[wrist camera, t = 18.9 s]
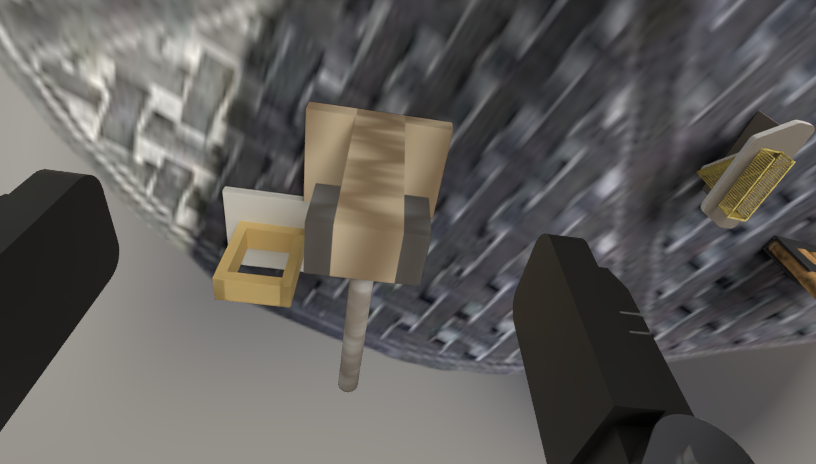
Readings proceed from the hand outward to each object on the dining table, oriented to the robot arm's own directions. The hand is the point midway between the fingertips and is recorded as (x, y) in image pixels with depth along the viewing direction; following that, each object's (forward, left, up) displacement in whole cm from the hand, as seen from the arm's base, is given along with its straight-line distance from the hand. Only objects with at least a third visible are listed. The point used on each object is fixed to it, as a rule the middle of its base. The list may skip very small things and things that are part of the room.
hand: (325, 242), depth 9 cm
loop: (+8, +25, -29) cm, 39 cm away
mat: (+8, +25, -30) cm, 40 cm away
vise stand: (-1, +19, -30) cm, 36 cm away
